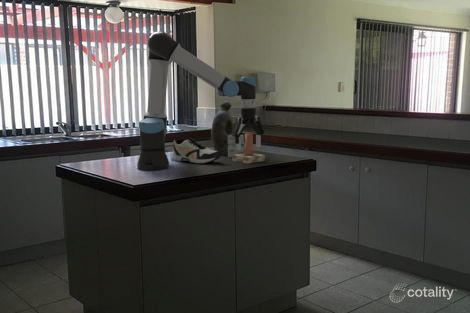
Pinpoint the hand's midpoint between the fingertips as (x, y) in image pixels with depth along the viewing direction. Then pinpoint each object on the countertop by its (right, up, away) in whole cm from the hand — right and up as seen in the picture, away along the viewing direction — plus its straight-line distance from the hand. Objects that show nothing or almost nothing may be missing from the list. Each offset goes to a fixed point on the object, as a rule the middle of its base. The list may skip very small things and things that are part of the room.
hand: (248, 148), depth 247 cm
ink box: (-6, -4, +15) cm, 17 cm away
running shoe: (-28, -7, 0) cm, 29 cm away
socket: (0, -6, +1) cm, 6 cm away
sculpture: (-14, -2, +27) cm, 30 cm away
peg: (0, -6, +1) cm, 6 cm away
